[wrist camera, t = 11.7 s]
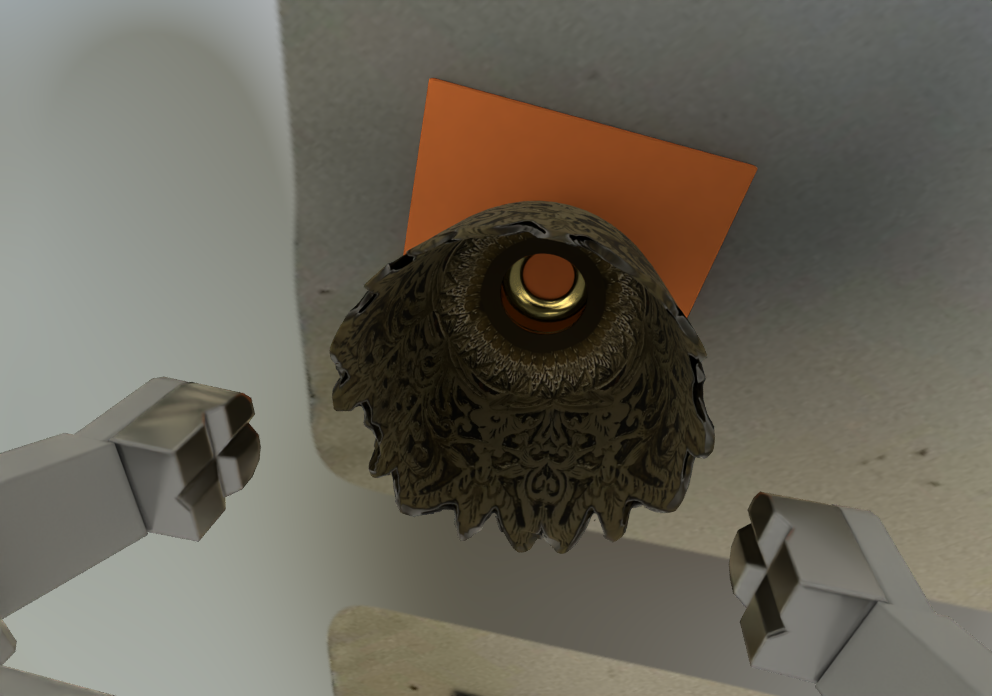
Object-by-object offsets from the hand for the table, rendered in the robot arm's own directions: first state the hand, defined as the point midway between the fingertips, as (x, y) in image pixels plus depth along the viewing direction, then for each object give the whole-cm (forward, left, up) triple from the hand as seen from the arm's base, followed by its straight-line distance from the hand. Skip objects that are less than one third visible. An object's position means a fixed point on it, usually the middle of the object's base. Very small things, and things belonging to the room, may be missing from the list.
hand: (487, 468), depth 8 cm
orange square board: (0, 0, -10) cm, 10 cm away
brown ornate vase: (0, 0, -10) cm, 10 cm away
